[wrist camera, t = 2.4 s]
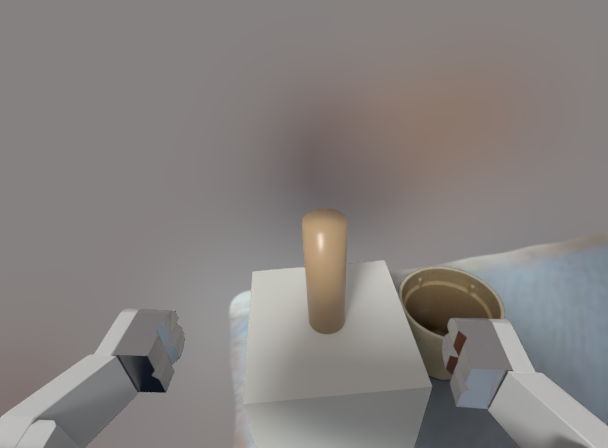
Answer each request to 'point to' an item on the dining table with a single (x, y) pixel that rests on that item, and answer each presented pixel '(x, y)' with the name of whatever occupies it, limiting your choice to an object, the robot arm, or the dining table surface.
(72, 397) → the robot arm
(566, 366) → the dining table surface
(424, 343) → the flower pot
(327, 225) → the white handled block
